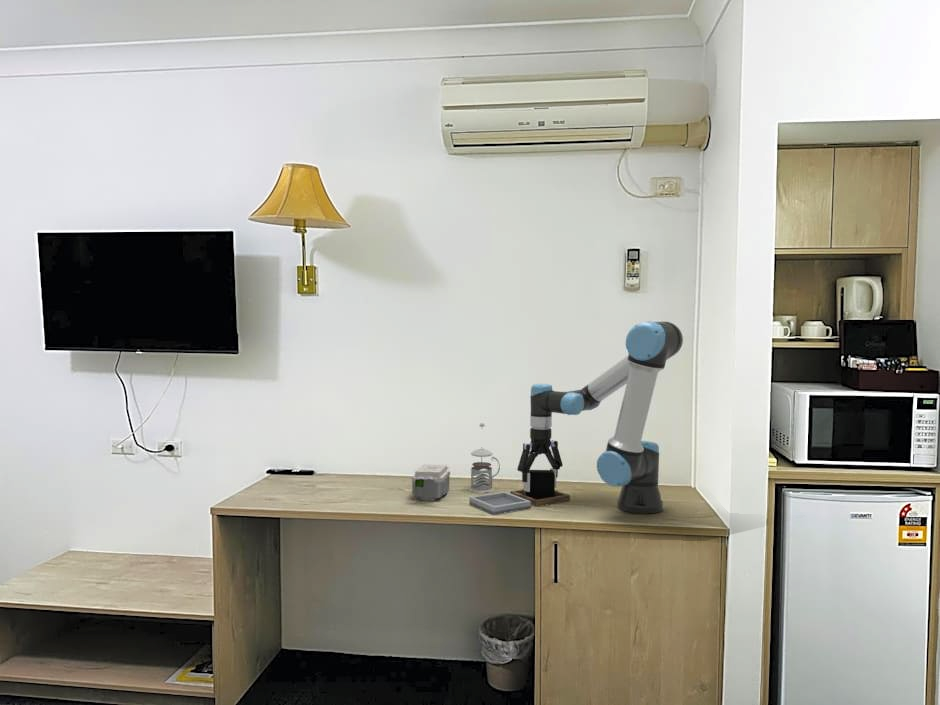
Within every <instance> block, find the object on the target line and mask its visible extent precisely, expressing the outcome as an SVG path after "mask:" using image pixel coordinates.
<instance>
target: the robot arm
mask: <svg viewBox="0 0 940 705" xmlns="http://www.w3.org/2000/svg"><path fill="white" fill-rule="evenodd" d="M683 338H684V336H683V334H682V331H681V329H680V328H679V327H678V326H677V325H675V324H674V323H672V322H670V321H644V322H643V321H642V322H640V323H637V324H636V325H633V326H632V327H631V329H630V330H628V333H627V335H626V338H625V348H626V350H627V353H628V355H626V356H625V357H624V358H623V359H621V360H620V361H618V362H617V363H616V364H614V365H613V366H611V367H610V368H608V369H607V370H606V371H603V373H601V374H600V375H599V376H598V377H596V378H594V379H593V380H592V381H590V382H589V383H588V384H587V385H585V386H584V387H583V388H581V389H575V390H571V391H555V390H553V387H552V384H548V383H534V384H532V385H531V387H530V396H529V397H530V422H529V424H530V425H529V426H530V429H529V437H530V438H529V439H530V443H523V444H522V453H521V456H520V459H519V463H518V465H517V469H516V470H517V471H518V472H520V473H521V478H522V479H521V481H522V483H523V489H524V491H527V492H530V473H528V472H529V470H531V467H532V466H533V464H534V462H535V460H536V458H537V457H538V455H539V456H540V455H542V454H543V455H545V457H546V459H547V461H548V462H549V465H550V466H551V468H549V470H553V471H554V474H555V488H557V478H558V476H559V474H558V473H559V472H558V471H559V470H561V468H562V467H563V462H562V458H561V454H560V451H559V447H558V446H559V442H558V441H557V440H554V439H552V428H551V427H553V425H552V424H553V423H552V420H553V419H552V413H555V414H563V415H568V416H577V415H580V414H581V413H582V412H584V411H592V410H594V409H597V408H598V407H599V406H600V404H601V402H602V401H604V400H605V399H607V398H608V397H610V396H611V395H612V394H614V393H615V392H617V391H619V389H621V388H623V387H624V386H625V390H624V394H623V398H622V402H621V406H620V410H619V415H618V419H617V423H616V428H615V430H614V435H613V436H612V437H610V438H609V439H608V440H607V444H606V448H605V451H604V452H602V453H601V454H600V455H599V456H598V458H597V461H596V469H597V470H596V471H597V473H598V476H599V477H600V478H601V480H602V481H603V482H604V483H605V484H607V485H608V486H610V487H611V486H612V487H621V489H620V494H619V497H618V498H617V502H616V503H617V504H616V505H617V508H618V509H619V510H621V511H624V512H627V513H632V514H633V513H634V514H641V513H642V514H643V513H644V514H645V515H646V514H648V513H651V514H657V513H661V512H662V511H663V510H664V502H663V500H662V497H661V492H660V488H659V472H660V471H659V467H660V466H659V465H660V446H659V444H658V443H656V442H653V441H647V440H642V439H643V435H644V430H645V427H646V422H647V418H648V414H649V411H650V410H649V409H650V406H651V402H652V398H653V395H654V391H655V390H654V389H655V386H656V383H657V377H658V373H659V372H660V371H663V370H664V369H665V367H666V362H667V360H669V359H671V358H673V357H674V356H675V355H677V354H678V353H679V351H680V350H681V348H682V346H683V343H684V339H683ZM551 439H552V440H551ZM648 515H649V514H648Z"/></svg>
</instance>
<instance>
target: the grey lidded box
mask: <svg viewBox="0 0 940 705" xmlns="http://www.w3.org/2000/svg"><path fill="white" fill-rule="evenodd" d="M449 468H450V467H448V464H429V463H428V464H425V463H424V464H423V465H422V466H420V467H418V468H417V469H416V470H415V471H414V475H413V476H411V481H412V483H411V485H412V486H411V492H412V494H413V497H414V498H416V499H419V500H421V501H428V502H429V501H436V500H437V499H441V498H442V497H443V496H445V495H446V494H447V493H448V489H449V490H450V476H451V471H450V470H448V469H449Z"/></svg>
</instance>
